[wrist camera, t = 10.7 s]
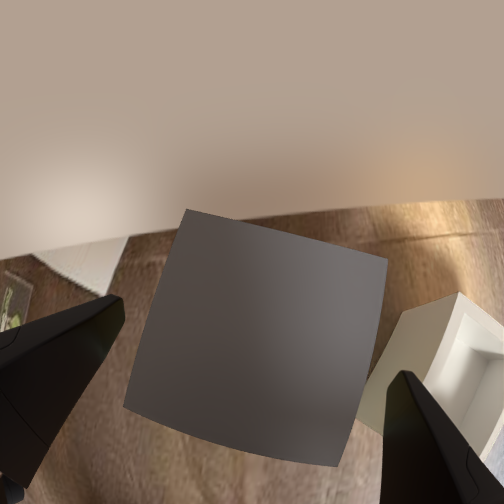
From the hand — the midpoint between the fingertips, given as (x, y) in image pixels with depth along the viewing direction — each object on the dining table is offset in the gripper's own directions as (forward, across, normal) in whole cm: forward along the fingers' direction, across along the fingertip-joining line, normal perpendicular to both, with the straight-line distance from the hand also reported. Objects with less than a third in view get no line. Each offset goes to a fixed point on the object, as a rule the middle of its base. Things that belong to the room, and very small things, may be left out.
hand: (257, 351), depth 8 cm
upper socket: (+5, -10, +6) cm, 13 cm away
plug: (+5, 0, +5) cm, 7 cm away
